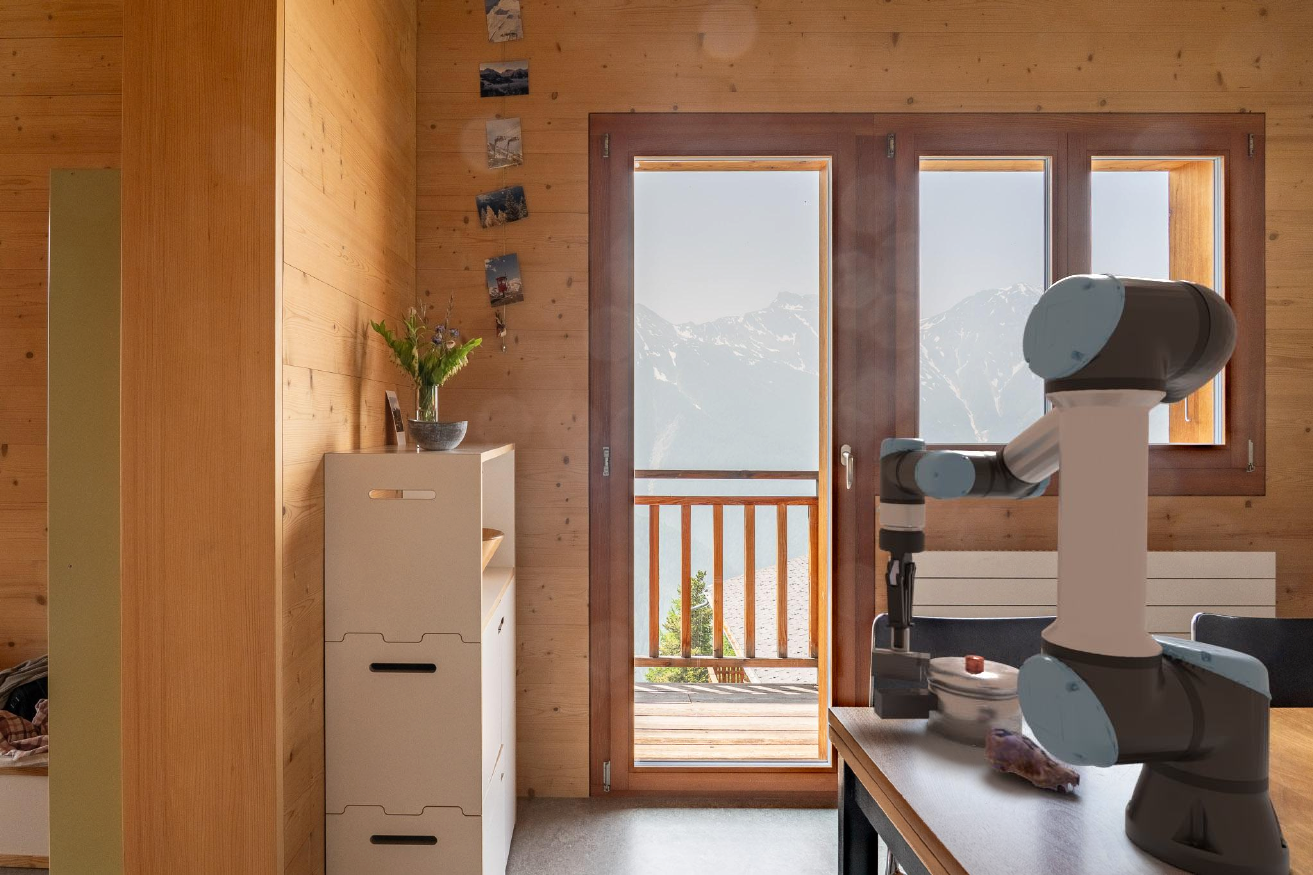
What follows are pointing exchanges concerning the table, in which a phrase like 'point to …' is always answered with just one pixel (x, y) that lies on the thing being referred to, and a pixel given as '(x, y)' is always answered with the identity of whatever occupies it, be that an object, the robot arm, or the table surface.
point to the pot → (952, 711)
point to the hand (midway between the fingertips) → (899, 665)
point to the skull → (1026, 760)
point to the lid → (946, 671)
